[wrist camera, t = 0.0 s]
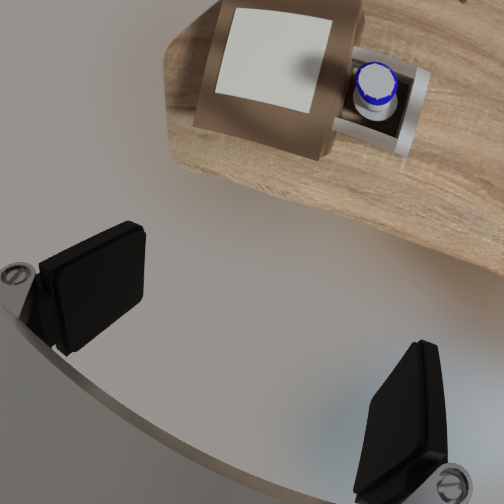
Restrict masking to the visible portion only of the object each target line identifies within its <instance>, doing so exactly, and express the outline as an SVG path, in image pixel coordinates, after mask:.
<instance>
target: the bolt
mask: <svg viewBox="0 0 504 504" xmlns="http://www.w3.org/2000/svg"><path fill="white" fill-rule="evenodd" d="M355 82H356V88H355V90H354V93H353V101H354V105H355V107H356V109H357V110H358V112H359V113H360V114H361V115H362V116H363V117H364V118H366V119H368V120H370V121H375V122H378V121H384V120H386V119H388V118H389V117H390V116H391V115H392V114H393V113H394V112H395V110H396V108H397V95H396V90H397V83H398V82H397V78H396V75H395V74H394V72H393V71H392V70H391V68H389V67H388V66H387V65H385V64H383V63H380V62H368V63H366V64H364V65H362V66H361V67H360V68H359V69H358V71H357V73H356V76H355Z"/></svg>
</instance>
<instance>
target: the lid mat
mask: <svg viewBox="0 0 504 504" xmlns="http://www.w3.org/2000/svg"><path fill="white" fill-rule="evenodd" d="M332 22H333V21H332V20H327V19H322V18H317V17H311V16H306V15H300V14H293V13H286V12H279V11H270V10H260V9H248V8H236V11H235V14H234V18H233V21H232V25H231V29H230V33H229V36H228V40H227V44H226V48H225V52H224V56H223V60H222V64H221V68H220V72H219V77H218V81H217V85H216V90H215V93H221V94H226V95H232V96H237V97H242V98H247V99H251V100H256V101H260V102H265V103H269V104H273V105H277V106H281V107H285V108H289V109H293V110H297V111H300V112H304V113H308V114H309V111H310V107H311V103H312V99H313V96H314V92H315V88H316V84H317V80H318V77H319V73H320V69H321V65H322V61H323V57H324V53H325V49H326V46H327V42H328V38H329V34H330V30H331V26H332Z"/></svg>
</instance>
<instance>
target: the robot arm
mask: <svg viewBox="0 0 504 504" xmlns="http://www.w3.org/2000/svg"><path fill="white" fill-rule="evenodd" d="M145 245H146V233H145V232H144V229H143V227H142V226H141V225H138V224H136V223H134V222H131V221H125V222H123V223H121V224H118V225H116V226H114V227H112V228H110V229H107V230H105V231H103V232H101V233H99V234H97V235H95V236H93V237H90V238H88V239H86V240H85V241H82V242H80V243H78V244H76V245H74V246H72V247H70V248H68V249H66V250H64V251H62V252H60V253H58V254H56V255H54V256H52V257H50V258H48V259H46V260H44V261H42V262H40V263H39V270H40V273H38V274H36V272H35V269H34V267H33V266H32V265H30V264H28V263H23V262H18V263H13V264H9V265H7V266H5V267H4V268H2V269H1V270H0V504H335V503H331V502H328V501H324V500H321V499H318V498H315V497H311V496H308V495H305V494H302V493H300V492H297V491H294V490H291V489H287V488H285V487H282V486H279V485H277V484H274V483H271V482H269V481H266V480H264V479H261V478H259V477H256V476H254V475H251V474H249V473H246V472H244V471H242V470H240V469H237V468H235V467H233V466H231V465H229V464H226V463H224V462H222V461H220V460H218V459H216V458H214V457H212V456H209V455H208V454H206V453H203V452H202V451H200V450H198V449H196V448H194V447H192V446H190V445H188V444H186V443H185V442H182V441H181V440H179V439H178V438H176V437H174V436H172V435H170V434H169V433H167V432H165V431H164V430H162V429H160V428H158V427H157V426H155V425H154V424H152V423H150V422H149V421H147V420H146V419H144V418H142V417H141V416H139V415H138V414H136V413H135V412H133V411H132V410H130V409H128V408H127V407H125V406H124V405H123V404H121V403H120V402H118V401H117V400H115V399H114V398H113V397H111V396H110V395H108V394H107V393H106V392H104V391H103V390H102V389H100V388H99V387H98V386H96V385H95V384H94V383H92V382H91V381H90V380H88V379H87V378H86V377H84V376H83V375H82V374H81V373H79V372H78V371H77V370H76V369H74V368H73V367H72V366H71V365H70V364H68V363H67V362H66V361H65V360H63V359H62V358H61V357H60V356H59V355H58V354H57V353H55V352H54V351H53V350H52V346H53V345H55V344H56V347H57V349H58V350H59V351H60V352H61V353H63V354H64V355H65V356H66V357H67V356H68V355H69V354H71V353H72V352H77V351H78V350H80V349H81V348H82V347H84V346H85V345H86V344H87V343H88V342H90V341H91V340H92V339H94V338H95V337H96V336H97V335H98V334H100V333H101V332H102V331H104V330H105V329H106V328H107V327H109V326H110V325H111V324H112V323H114V322H115V321H116V320H117V319H119V318H120V317H121V316H123V315H124V314H125V313H126V312H128V311H129V310H130V309H131V308H133V307H134V306H135V305H137V304H138V303H139V302H140V301H141V299H142V297H143V286H144V263H145ZM472 491H473V484H472V480H471V477H470V475H469V474H468V472H467V471H466V470H465V469H464V468H463V467H462V466H460V465H458V464H456V463H448V445H447V424H446V409H445V398H444V389H443V380H442V372H441V365H440V358H439V352H438V347H437V345H435V344H432V343H430V342H427V341H424V340H420V341H418V343H416V342H413V343H412V344H411V346H410V347H409V349H408V350H407V351H406V353H405V354H404V356H403V357H402V359H401V360H400V361H399V363H398V364H397V366H396V367H395V368H394V370H393V371H392V373H391V374H390V375H389V377H388V378H387V379H386V381H385V382H384V383H383V385H382V386H381V387H380V389H379V390H378V391H377V393H376V394H375V395H374V397H373V398H372V400H371V403H370V406H369V413H368V419H367V425H366V431H365V436H364V442H363V447H362V452H361V457H360V462H359V467H358V472H357V475H356V480H355V484H354V489H353V492H354V493H356V494H357V496H356V500H355V503H358V504H468V502H469V500H470V498H471V496H472Z"/></svg>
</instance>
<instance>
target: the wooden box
mask: <svg viewBox="0 0 504 504" xmlns="http://www.w3.org/2000/svg"><path fill="white" fill-rule="evenodd" d="M236 8H248V9H260V10H270V11H279V12H286V13H293V14H300V15H306V16H311V17H317V18H322V19H327V20H332V21H333V22H332V26H331V30H330V34H329V38H328V42H327V46H326V49H325V53H324V57H323V61H322V65H321V69H320V73H319V77H318V80H317V84H316V88H315V92H314V96H313V99H312V103H311V107H310V111H309V114H308V113H304V112H300V111H297V110H293V109H289V108H285V107H281V106H277V105H273V104H269V103H265V102H260V101H256V100H251V99H247V98H242V97H237V96H232V95H226V94H221V93H215V90H216V85H217V81H218V77H219V72H220V68H221V64H222V60H223V56H224V52H225V48H226V44H227V40H228V36H229V33H230V29H231V25H232V21H233V18H234V14H235V11H236ZM364 24H365V20H364V13H363V6H362V0H223V2H222V6H221V9H220V13H219V16H218V20H217V23H216V27H215V31H214V35H213V39H212V42H211V46H210V50H209V54H208V58H207V63H206V67H205V71H204V75H203V80H202V84H201V89H200V93H199V98H198V103H197V107H196V112H195V117H194V122H193V127H197V128H202V129H206V130H210V131H214V132H218V133H223V134H227V135H230V136H234V137H238V138H242V139H246V140H249V141H253V142H257V143H260V144H264V145H267V146H271V147H274V148H277V149H281V150H284V151H287V152H291V153H294V154H297V155H300V156H303V157H306V158H309V159H313V160H316V161H318V160H319V158H321V157H323V156H325V155H327V154H329V153H330V152H331V149H332V146H333V142H334V139H335V135H336V132H340V133H343V134H346V135H349V136H351V137H354V138H357V139H360V140H363V141H366V142H368V143H371V144H374V145H377V146H379V147H382V148H384V149H387V150H390V151H392V152H395V153H397V154H400V155H402V156H404V157H407V156H408V153H409V150H410V147H411V144H412V140H413V137H414V134H415V131H416V127H417V124H418V120H419V117H420V113H421V109H422V106H423V102H424V98H425V94H426V90H427V86H428V82H429V78H430V74H431V72H429V71H426V70H424V69H422V68H419V67H417V66H414V65H411V64H409V63H406V62H403V61H401V60H398V59H395V58H392V57H389V56H386V55H383V54H380V53H377V52H374V51H370V50H367V49H364V48H360V47H359V45H360V41H361V37H362V33H363V28H364ZM368 62H380V63H383V64H385V65H387V66H388V67H389V68H391V70H392V71H393V72H394V74H395V75H396V78H397V81H398V82H401V83H403V84H406V85H409V90H408V94H407V98H406V101H405V105H404V109H403V112H402V116H401V119H400V123H399V126H398V130H397V133H396V136H395V138H394V137H391V136H389V135H386V134H384V133H381V132H378V131H375V130H373V129H370V128H367V127H364V126H361V125H359V124H356V123H353V122H350V121H347V120H344V119H340V117H341V114H342V110H343V107H344V103H345V99H346V96H347V92H348V88H349V84H350V81H351V77H352V73H353V69H354V67H356V68H360V67H361V66H362V65H364V64H366V63H368Z"/></svg>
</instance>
